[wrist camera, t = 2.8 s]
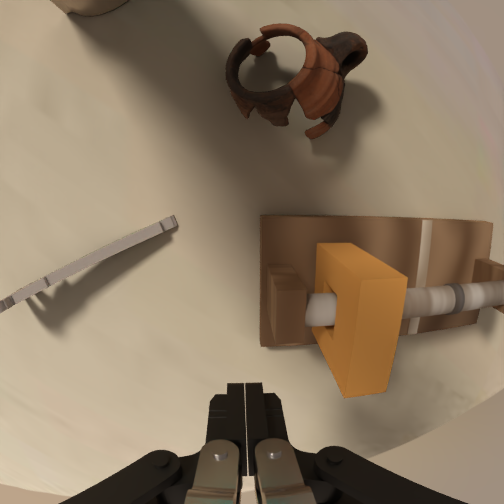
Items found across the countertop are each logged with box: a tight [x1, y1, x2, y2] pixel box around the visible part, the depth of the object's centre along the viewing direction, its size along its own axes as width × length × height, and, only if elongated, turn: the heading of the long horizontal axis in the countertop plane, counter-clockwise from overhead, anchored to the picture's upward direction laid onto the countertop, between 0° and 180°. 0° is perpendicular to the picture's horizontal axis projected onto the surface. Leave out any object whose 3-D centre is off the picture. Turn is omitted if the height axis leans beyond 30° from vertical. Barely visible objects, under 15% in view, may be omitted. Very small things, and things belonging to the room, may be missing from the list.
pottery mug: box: [226, 24, 368, 139], centre depth 23 cm, size 12×9×8 cm
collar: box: [312, 243, 408, 398], centre depth 22 cm, size 3×8×10 cm, turn 0°
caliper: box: [0, 215, 178, 313], centre depth 25 cm, size 20×1×6 cm, turn 111°
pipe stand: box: [260, 215, 504, 347], centre depth 26 cm, size 26×12×8 cm, turn 90°
